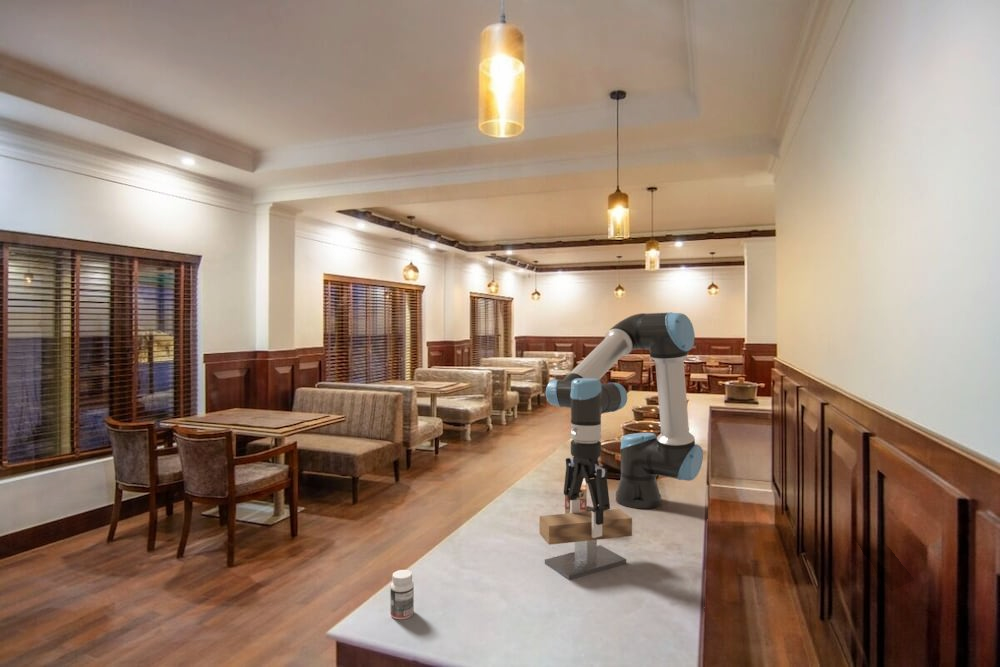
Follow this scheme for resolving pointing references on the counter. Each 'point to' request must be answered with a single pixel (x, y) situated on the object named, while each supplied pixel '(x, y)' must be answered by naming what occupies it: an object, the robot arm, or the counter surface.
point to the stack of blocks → (581, 496)
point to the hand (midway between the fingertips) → (585, 530)
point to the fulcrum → (585, 560)
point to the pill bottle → (402, 594)
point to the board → (583, 526)
